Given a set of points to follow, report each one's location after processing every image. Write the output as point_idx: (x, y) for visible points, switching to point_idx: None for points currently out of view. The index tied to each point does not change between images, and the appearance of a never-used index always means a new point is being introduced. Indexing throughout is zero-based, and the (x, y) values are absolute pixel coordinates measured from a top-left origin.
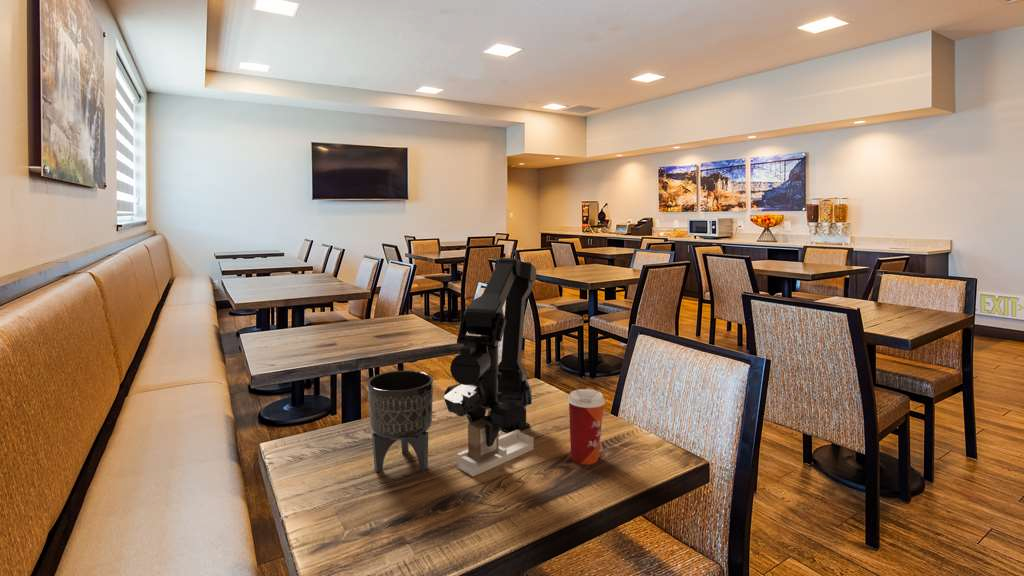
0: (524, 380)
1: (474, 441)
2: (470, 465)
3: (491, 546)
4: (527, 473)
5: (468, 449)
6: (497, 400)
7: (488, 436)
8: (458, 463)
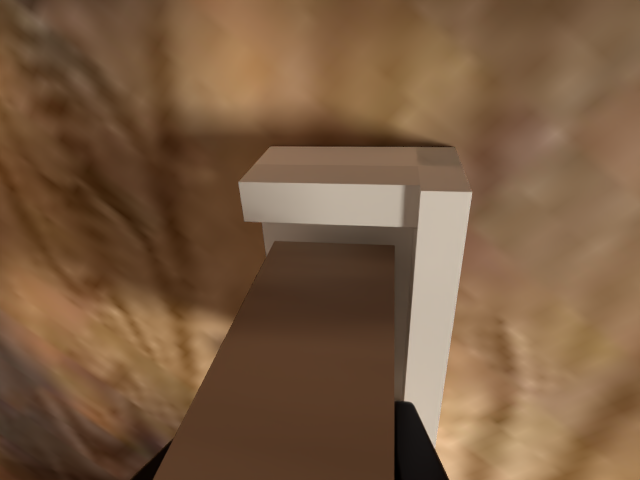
0: None
1: (275, 356)
2: (280, 172)
3: None
4: (142, 352)
5: (390, 282)
6: None
7: (146, 472)
8: (440, 159)
